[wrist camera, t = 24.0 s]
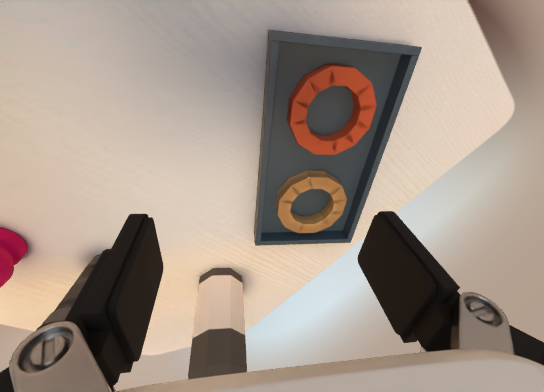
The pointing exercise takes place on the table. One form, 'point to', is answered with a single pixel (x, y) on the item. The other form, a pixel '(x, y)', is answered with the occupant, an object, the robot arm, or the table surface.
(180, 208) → the table surface
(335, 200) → the birch ring
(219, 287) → the wine bottle
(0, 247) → the pepper mill
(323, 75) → the terracotta ring
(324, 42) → the tray
